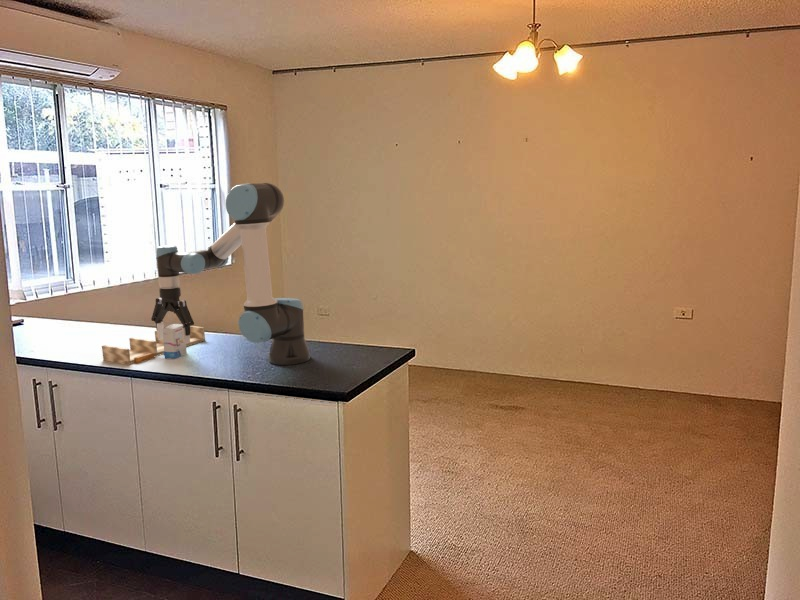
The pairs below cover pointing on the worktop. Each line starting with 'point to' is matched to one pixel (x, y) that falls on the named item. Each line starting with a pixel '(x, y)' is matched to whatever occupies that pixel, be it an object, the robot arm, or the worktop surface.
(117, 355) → the rack
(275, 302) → the robot arm
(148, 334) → the worktop surface
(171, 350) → the ink box
